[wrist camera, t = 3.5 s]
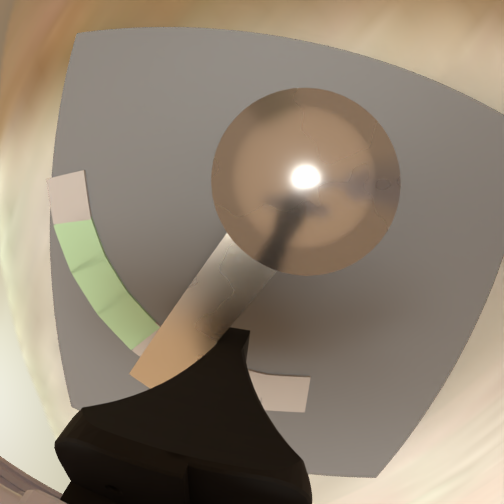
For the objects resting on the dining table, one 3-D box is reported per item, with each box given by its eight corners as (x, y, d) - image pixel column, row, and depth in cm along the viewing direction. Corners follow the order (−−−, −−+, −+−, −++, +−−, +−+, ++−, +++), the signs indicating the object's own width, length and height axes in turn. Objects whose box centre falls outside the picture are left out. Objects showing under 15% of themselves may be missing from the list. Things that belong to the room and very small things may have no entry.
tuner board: (519, 131, 10) (533, 131, 9) (374, 466, 17) (376, 478, 16) (84, 38, 11) (71, 33, 10) (75, 396, 18) (67, 406, 17)
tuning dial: (287, 88, 10) (285, 52, 6) (384, 163, 11) (434, 171, 7) (123, 331, 14) (76, 387, 10) (197, 383, 15) (171, 450, 11)
